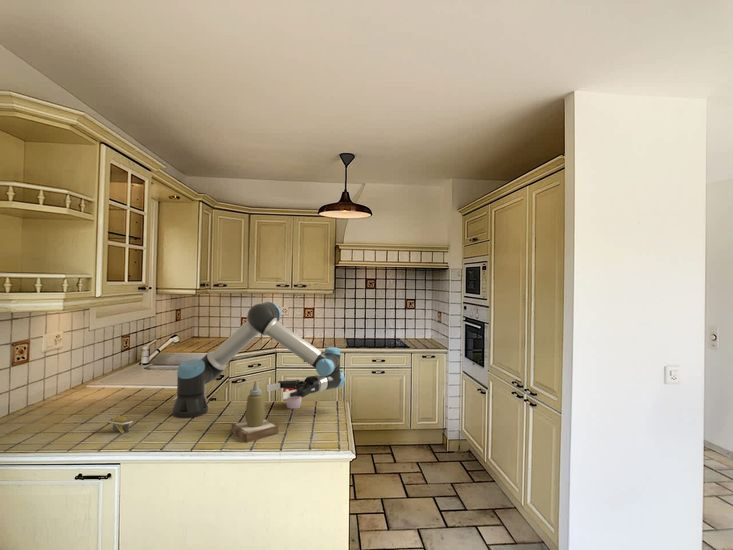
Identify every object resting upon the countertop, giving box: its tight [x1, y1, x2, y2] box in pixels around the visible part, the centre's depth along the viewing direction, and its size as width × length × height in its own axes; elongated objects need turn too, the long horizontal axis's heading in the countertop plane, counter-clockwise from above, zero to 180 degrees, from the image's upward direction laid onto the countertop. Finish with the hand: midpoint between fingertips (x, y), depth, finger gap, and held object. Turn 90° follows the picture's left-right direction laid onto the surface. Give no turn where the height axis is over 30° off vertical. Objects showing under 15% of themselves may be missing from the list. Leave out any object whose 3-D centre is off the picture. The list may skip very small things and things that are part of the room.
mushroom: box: [282, 388, 303, 410], centre depth 204 cm, size 11×11×12 cm
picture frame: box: [230, 417, 279, 443], centre depth 170 cm, size 14×14×3 cm
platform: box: [108, 414, 133, 434], centre depth 167 cm, size 12×18×7 cm, turn 74°
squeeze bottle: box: [244, 380, 266, 427], centre depth 170 cm, size 8×8×18 cm
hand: (274, 392), depth 176 cm, fingers open, 13 cm apart
